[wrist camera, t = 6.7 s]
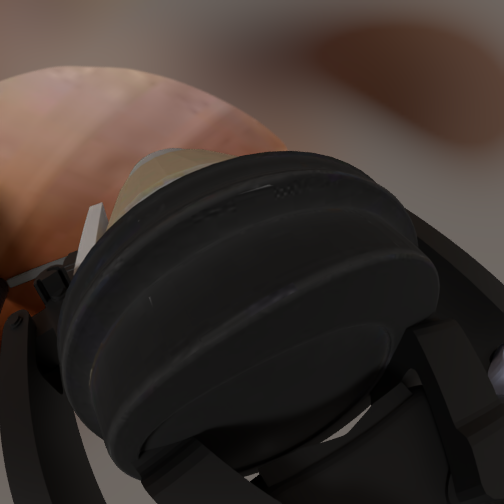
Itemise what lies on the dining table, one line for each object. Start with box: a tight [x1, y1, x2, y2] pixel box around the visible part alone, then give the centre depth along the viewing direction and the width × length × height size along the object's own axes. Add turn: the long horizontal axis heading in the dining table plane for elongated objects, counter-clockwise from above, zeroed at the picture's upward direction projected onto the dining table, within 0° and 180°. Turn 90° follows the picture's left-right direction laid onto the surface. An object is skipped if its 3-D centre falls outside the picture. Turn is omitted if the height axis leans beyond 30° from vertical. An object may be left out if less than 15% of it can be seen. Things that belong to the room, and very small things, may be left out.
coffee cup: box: [57, 148, 440, 480], centre depth 11 cm, size 9×9×15 cm
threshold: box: [7, 256, 67, 288], centre depth 23 cm, size 14×1×1 cm, turn 96°
